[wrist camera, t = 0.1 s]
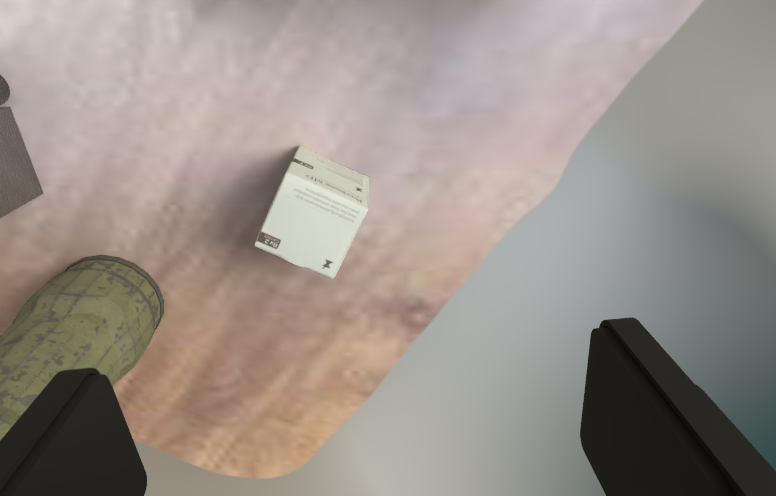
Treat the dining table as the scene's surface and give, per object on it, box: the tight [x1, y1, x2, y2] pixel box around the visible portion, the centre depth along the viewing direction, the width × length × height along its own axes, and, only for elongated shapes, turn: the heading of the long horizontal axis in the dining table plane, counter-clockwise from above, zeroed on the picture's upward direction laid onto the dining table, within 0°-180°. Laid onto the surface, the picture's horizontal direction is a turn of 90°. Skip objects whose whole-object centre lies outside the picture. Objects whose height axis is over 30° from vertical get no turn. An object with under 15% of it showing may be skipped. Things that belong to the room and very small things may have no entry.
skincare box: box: [254, 145, 369, 278], centre depth 37 cm, size 6×6×7 cm
